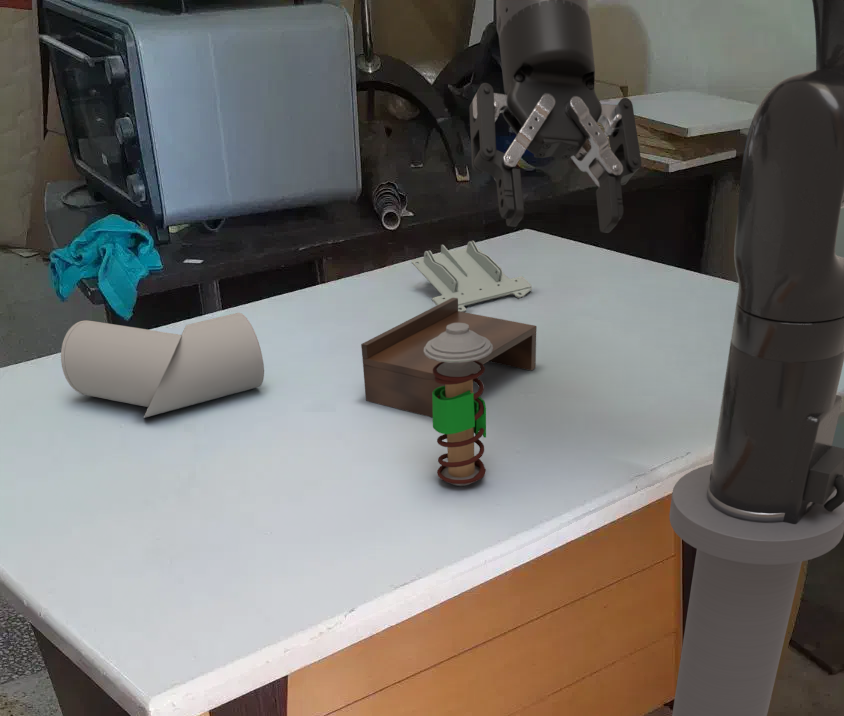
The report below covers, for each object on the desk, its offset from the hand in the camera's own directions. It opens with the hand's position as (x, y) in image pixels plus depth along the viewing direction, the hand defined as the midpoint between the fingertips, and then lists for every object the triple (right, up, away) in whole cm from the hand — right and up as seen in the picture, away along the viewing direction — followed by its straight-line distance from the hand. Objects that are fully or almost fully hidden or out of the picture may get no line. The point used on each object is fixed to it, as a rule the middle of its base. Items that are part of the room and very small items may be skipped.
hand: (563, 225), depth 84 cm
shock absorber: (-8, -17, +18) cm, 25 cm away
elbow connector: (-42, -1, +38) cm, 57 cm away
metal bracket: (-6, +22, +62) cm, 66 cm away
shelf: (-8, 0, +36) cm, 37 cm away
